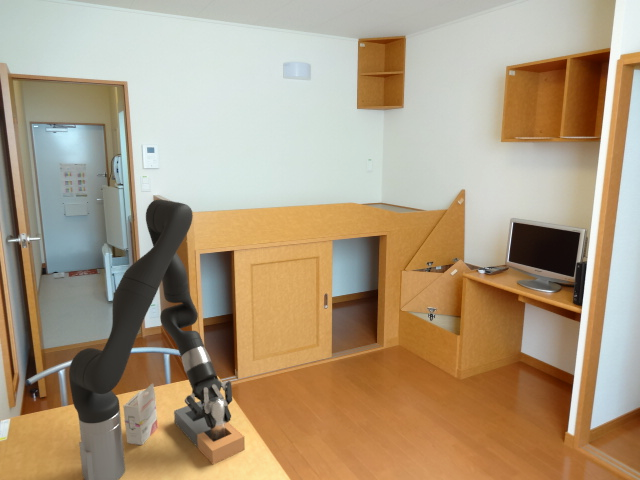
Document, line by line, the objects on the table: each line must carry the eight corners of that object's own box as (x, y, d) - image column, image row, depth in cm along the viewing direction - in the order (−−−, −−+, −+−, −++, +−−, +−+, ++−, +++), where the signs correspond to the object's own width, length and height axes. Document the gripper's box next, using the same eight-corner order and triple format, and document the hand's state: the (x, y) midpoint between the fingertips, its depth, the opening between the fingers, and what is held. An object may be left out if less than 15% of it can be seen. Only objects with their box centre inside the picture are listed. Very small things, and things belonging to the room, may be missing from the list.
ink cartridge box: (142, 425, 140) (139, 380, 137) (158, 427, 139) (155, 382, 136) (125, 443, 132) (121, 395, 129) (141, 446, 131) (138, 397, 128)
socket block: (213, 464, 124) (212, 450, 123) (174, 422, 141) (174, 410, 141) (244, 449, 130) (244, 436, 129) (204, 411, 147) (203, 399, 147)
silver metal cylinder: (215, 446, 128) (213, 406, 125) (208, 439, 131) (206, 400, 128) (228, 440, 131) (226, 401, 128) (221, 433, 134) (219, 395, 131)
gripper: (178, 369, 127) (200, 430, 121) (225, 354, 136) (248, 410, 130) (171, 379, 133) (192, 438, 126) (217, 364, 142) (239, 419, 135)
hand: (220, 424), depth 128 cm, fingers closed on silver metal cylinder, 4 cm apart
